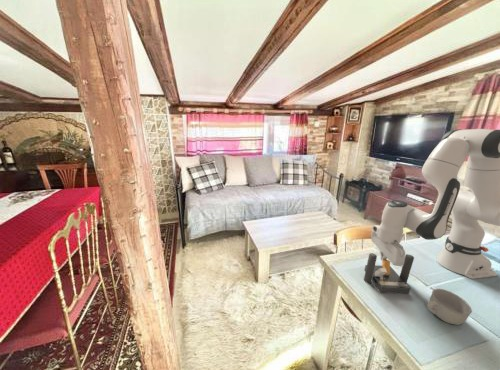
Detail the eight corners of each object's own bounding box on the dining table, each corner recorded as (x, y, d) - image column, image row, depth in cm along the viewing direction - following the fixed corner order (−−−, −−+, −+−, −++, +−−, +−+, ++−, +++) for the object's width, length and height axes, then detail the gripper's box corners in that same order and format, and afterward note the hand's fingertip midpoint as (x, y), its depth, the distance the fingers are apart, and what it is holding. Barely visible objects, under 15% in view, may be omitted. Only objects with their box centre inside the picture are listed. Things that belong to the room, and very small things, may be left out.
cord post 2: (403, 279, 95) (410, 254, 91) (408, 284, 92) (415, 258, 88) (397, 279, 95) (404, 254, 91) (401, 284, 92) (408, 258, 88)
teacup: (448, 305, 82) (454, 289, 79) (473, 331, 71) (481, 314, 69) (411, 302, 83) (416, 286, 81) (431, 327, 73) (438, 310, 70)
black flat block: (388, 270, 100) (390, 265, 99) (408, 293, 87) (410, 287, 86) (364, 270, 101) (365, 264, 100) (380, 292, 87) (381, 286, 86)
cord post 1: (369, 278, 95) (374, 253, 91) (372, 282, 93) (378, 257, 88) (362, 277, 96) (367, 253, 91) (365, 282, 93) (371, 257, 88)
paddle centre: (387, 274, 94) (387, 260, 94) (390, 275, 92) (389, 261, 92) (382, 274, 94) (382, 259, 94) (384, 275, 92) (384, 261, 92)
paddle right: (378, 273, 93) (385, 268, 88) (379, 277, 92) (387, 272, 87) (373, 273, 93) (380, 268, 88) (374, 276, 92) (381, 271, 87)
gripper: (413, 249, 81) (404, 277, 85) (384, 224, 100) (378, 248, 104) (396, 248, 81) (389, 276, 85) (371, 223, 101) (365, 247, 105)
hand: (383, 260), depth 95 cm, fingers closed
